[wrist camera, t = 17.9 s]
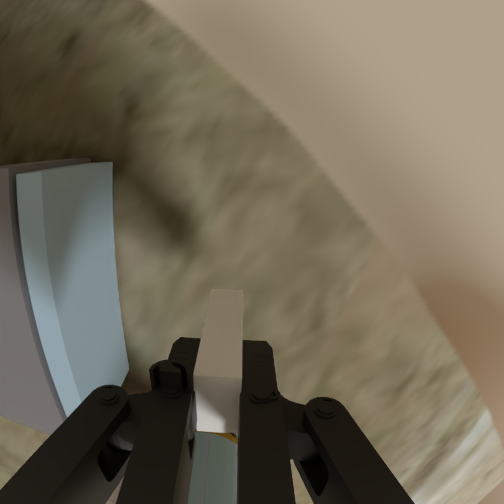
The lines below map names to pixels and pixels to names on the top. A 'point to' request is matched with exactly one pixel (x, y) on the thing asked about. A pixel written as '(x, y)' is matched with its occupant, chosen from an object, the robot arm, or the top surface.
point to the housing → (23, 319)
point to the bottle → (214, 469)
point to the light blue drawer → (73, 275)
